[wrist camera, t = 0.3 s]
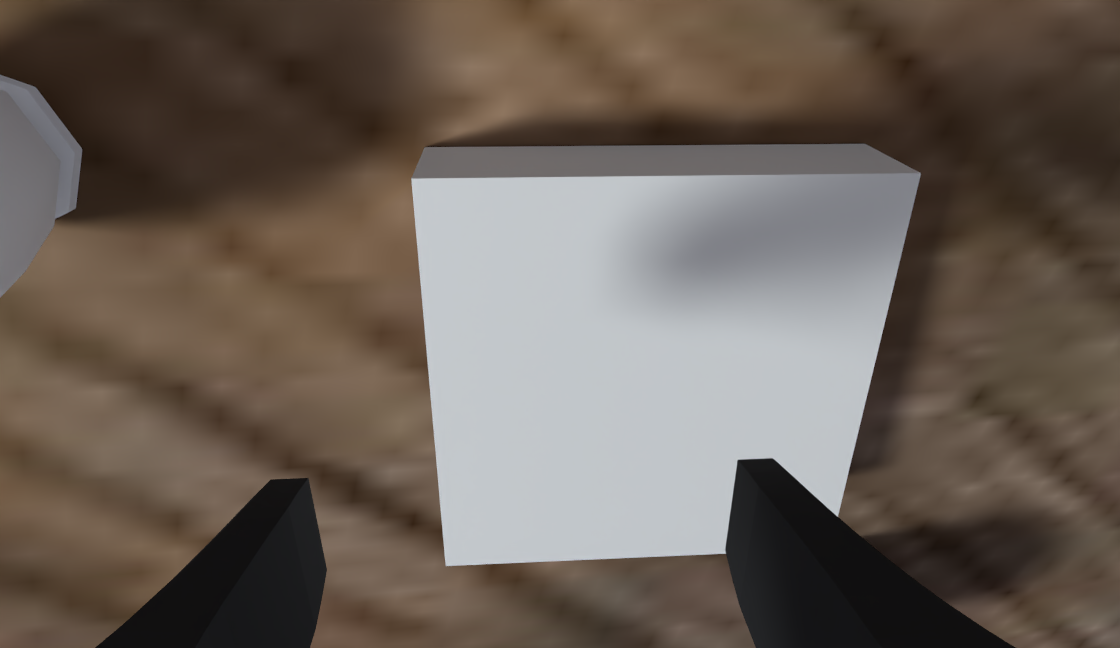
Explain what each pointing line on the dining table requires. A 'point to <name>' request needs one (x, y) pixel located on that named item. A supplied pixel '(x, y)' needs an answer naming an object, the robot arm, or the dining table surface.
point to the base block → (646, 334)
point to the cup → (31, 175)
